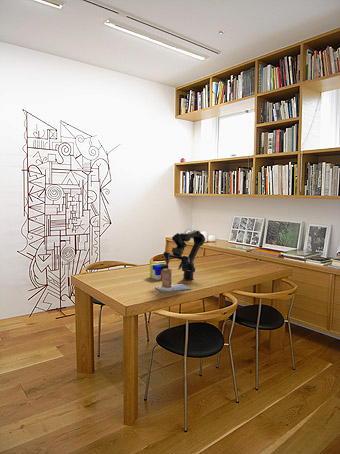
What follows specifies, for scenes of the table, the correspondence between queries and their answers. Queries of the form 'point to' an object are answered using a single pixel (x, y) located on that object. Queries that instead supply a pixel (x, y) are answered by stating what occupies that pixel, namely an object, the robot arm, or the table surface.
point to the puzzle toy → (157, 270)
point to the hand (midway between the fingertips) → (172, 267)
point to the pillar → (166, 278)
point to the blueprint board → (173, 288)
